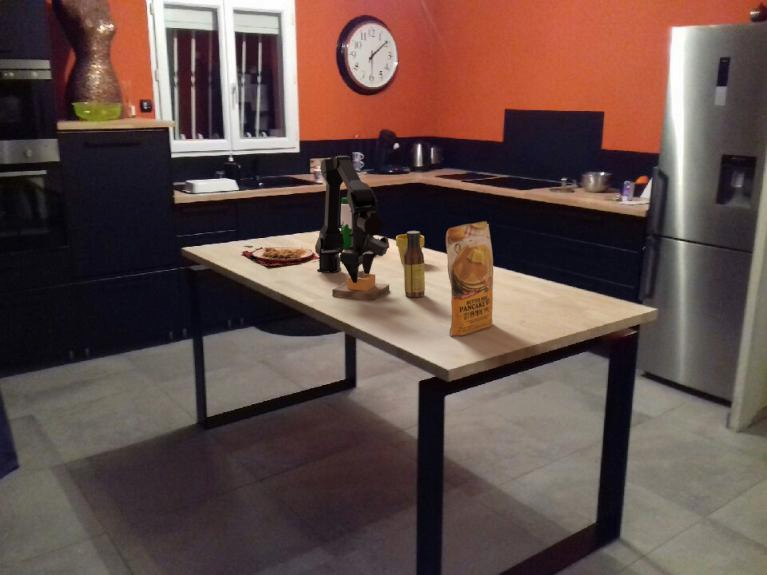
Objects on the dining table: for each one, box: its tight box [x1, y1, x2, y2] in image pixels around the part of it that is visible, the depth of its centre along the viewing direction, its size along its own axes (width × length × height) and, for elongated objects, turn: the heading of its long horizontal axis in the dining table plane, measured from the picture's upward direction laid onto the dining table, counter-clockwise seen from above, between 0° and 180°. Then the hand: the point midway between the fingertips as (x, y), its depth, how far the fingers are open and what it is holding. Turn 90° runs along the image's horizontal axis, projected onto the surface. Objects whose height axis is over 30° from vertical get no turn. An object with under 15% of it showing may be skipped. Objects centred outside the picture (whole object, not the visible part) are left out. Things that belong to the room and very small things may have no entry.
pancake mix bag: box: [445, 220, 494, 337], centre depth 181 cm, size 7×19×28 cm, turn 131°
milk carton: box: [340, 196, 352, 250], centre depth 278 cm, size 9×9×20 cm
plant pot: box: [395, 233, 425, 265], centre depth 255 cm, size 10×10×10 cm
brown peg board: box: [331, 270, 390, 302], centre depth 216 cm, size 14×12×7 cm
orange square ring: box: [346, 273, 376, 291], centre depth 216 cm, size 7×7×4 cm
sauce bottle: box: [403, 230, 426, 299], centre depth 212 cm, size 7×6×20 cm
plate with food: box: [241, 245, 319, 267], centre depth 264 cm, size 25×26×4 cm
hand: (361, 279), depth 216 cm, fingers open, 9 cm apart
